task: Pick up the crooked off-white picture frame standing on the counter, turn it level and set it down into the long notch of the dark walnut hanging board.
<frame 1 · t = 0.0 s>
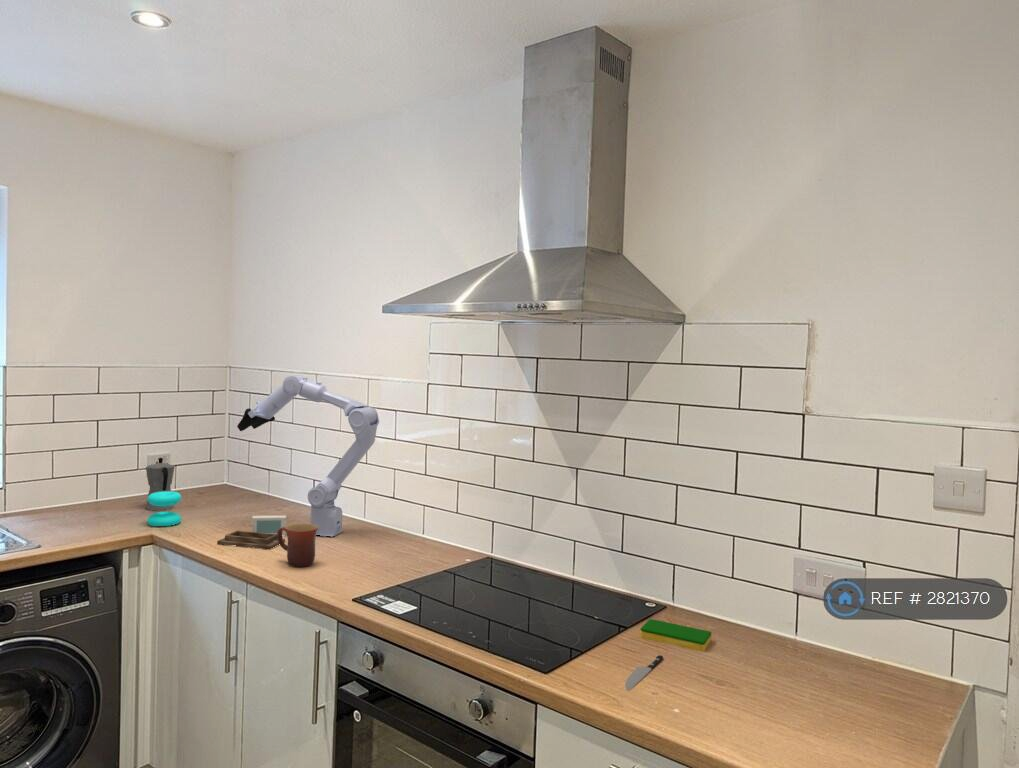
hand: (245, 427, 242), 32 cm above the worktop, tool tilted 50°, fingers open, 7 cm apart
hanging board: (251, 543, 224), on the worktop
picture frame: (269, 535, 233), on the worktop
chef's knife: (638, 675, 144), on the worktop
mug: (296, 564, 205), on the worktop
dish sponge: (675, 641, 162), on the worktop
donuts: (164, 524, 242), on the worktop
coffeepot: (160, 509, 263), on the worktop
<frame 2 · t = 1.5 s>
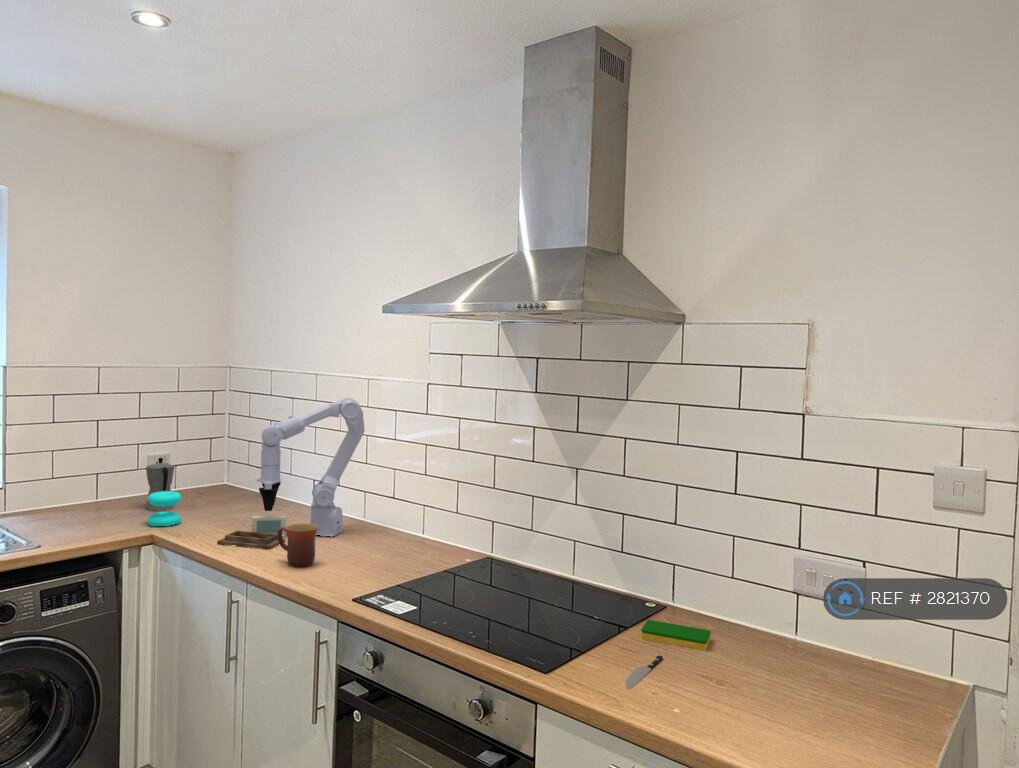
hand: (269, 507, 233), 9 cm above the worktop, tool pointing down, fingers open, 7 cm apart
nothing on the worktop moved.
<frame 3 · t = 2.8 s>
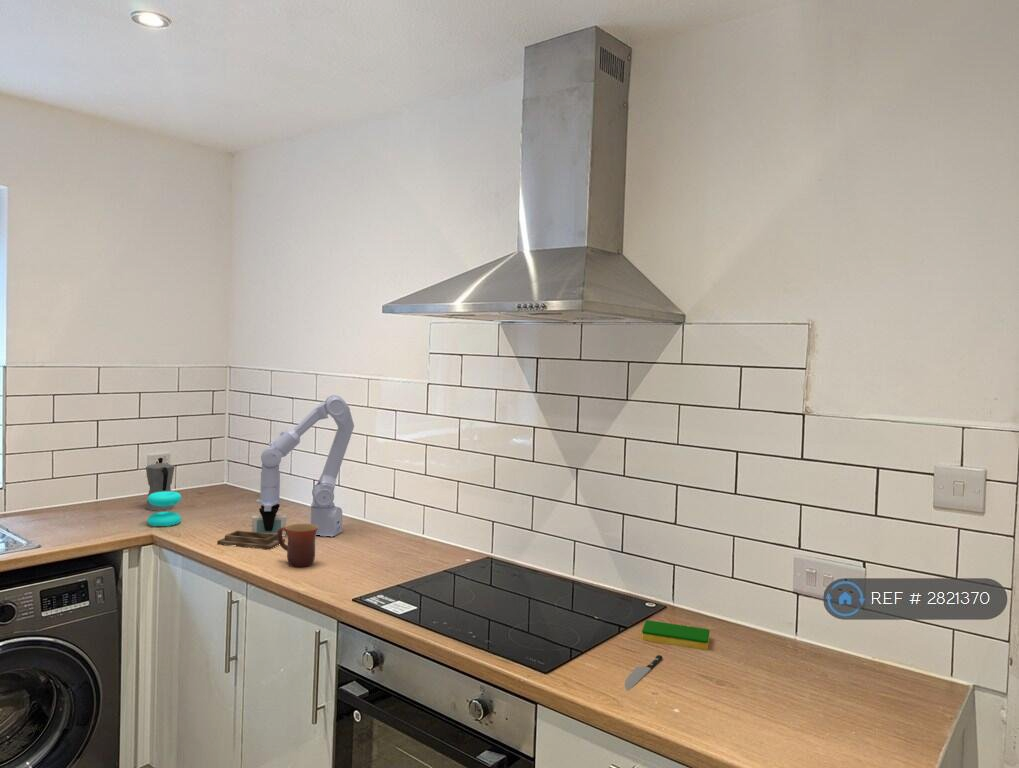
hand: (269, 529, 233), 2 cm above the worktop, tool pointing down, fingers closed on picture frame, 3 cm apart
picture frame: (269, 535, 233), on the worktop, touching gripper
everything else where it was.
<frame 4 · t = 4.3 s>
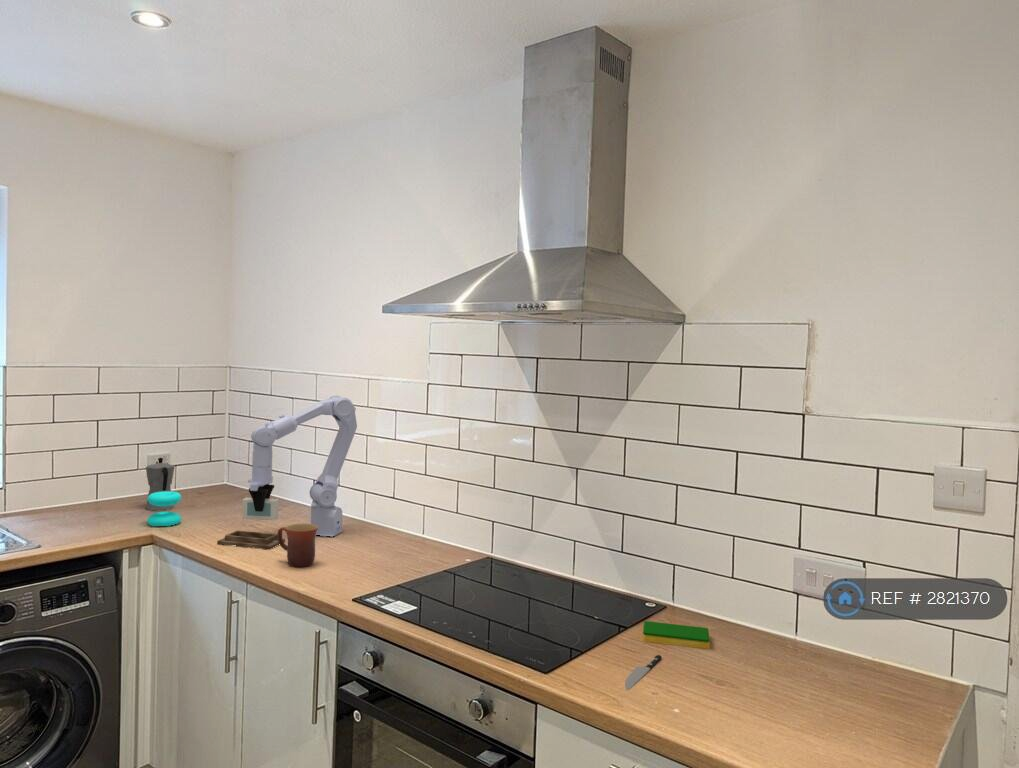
hand: (261, 509, 228), 9 cm above the worktop, tool pointing down, fingers closed on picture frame, 3 cm apart
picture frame: (260, 518, 228), point 6 cm above the worktop, touching gripper
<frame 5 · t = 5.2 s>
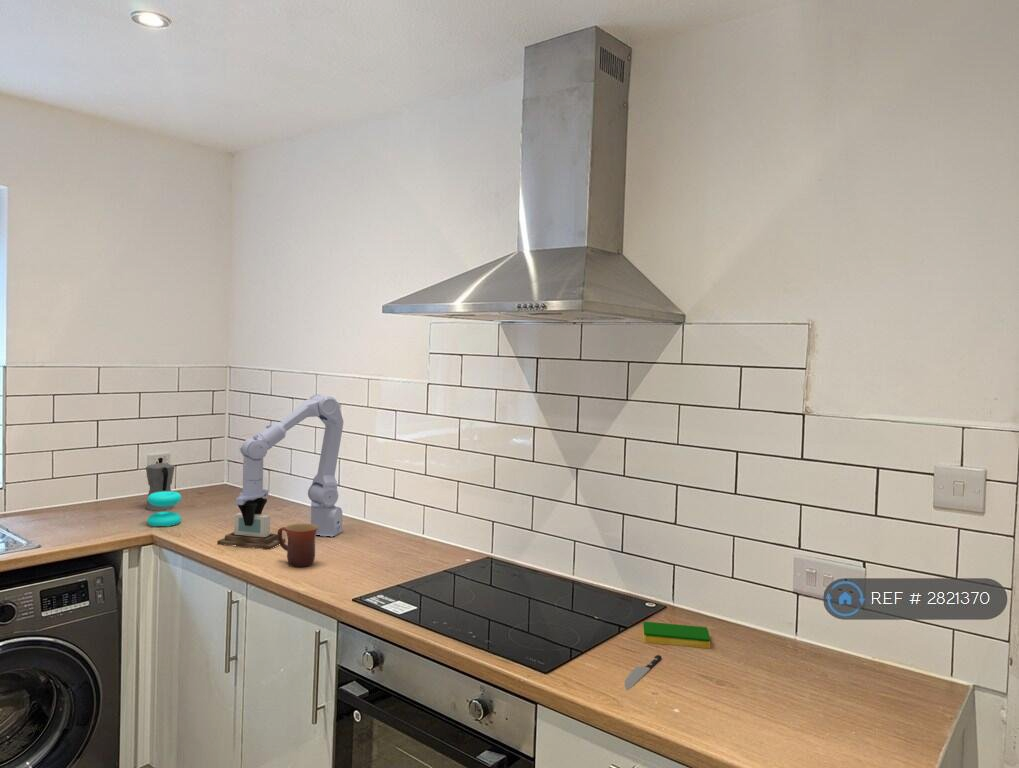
hand: (251, 524, 223), 6 cm above the worktop, tool pointing down, fingers closed on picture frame, 3 cm apart
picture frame: (252, 534, 223), point 3 cm above the worktop, touching gripper
when the fingers open (5 cm above the worktop, at t = 5.7 s): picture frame stays where it is, resting on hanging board.
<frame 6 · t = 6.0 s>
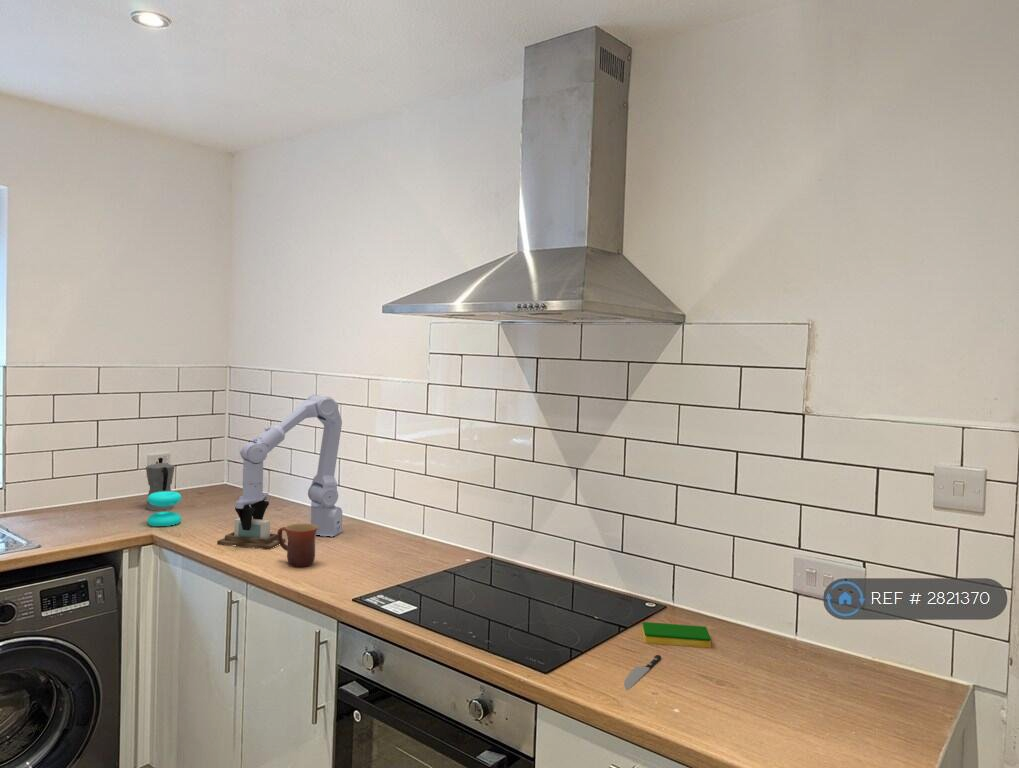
hand: (251, 527, 223), 5 cm above the worktop, tool pointing down, fingers open, 5 cm apart
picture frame: (251, 539, 223), point 1 cm above the worktop, touching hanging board
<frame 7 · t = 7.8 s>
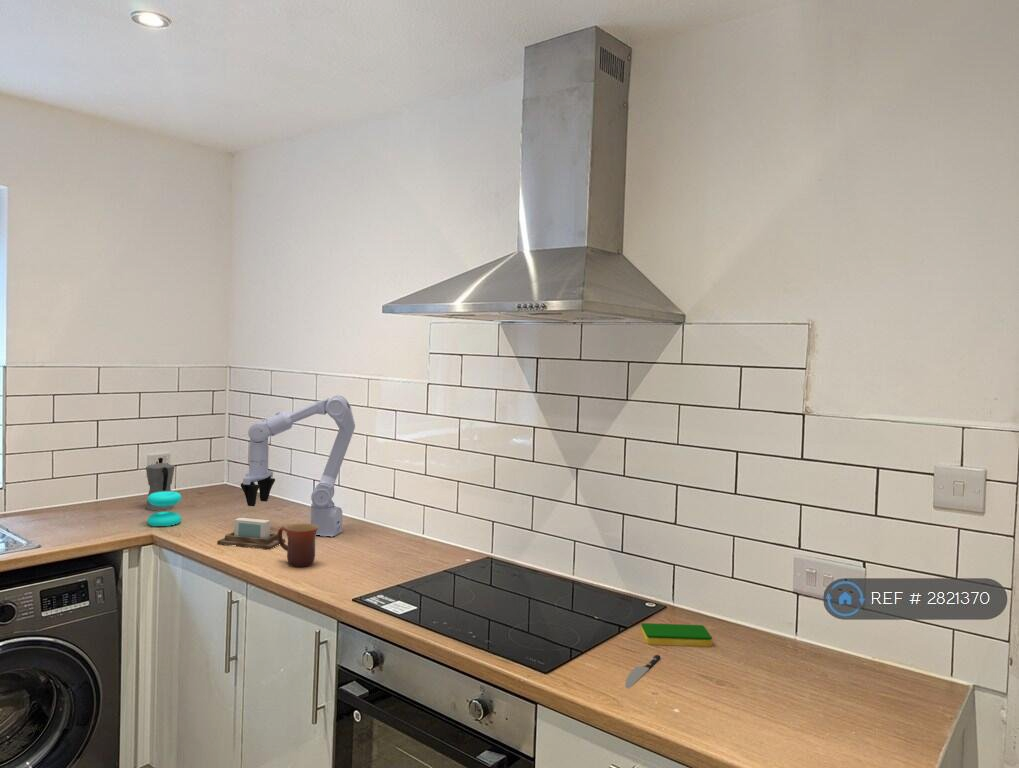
hand: (257, 503, 235), 9 cm above the worktop, tool pointing down, fingers open, 7 cm apart
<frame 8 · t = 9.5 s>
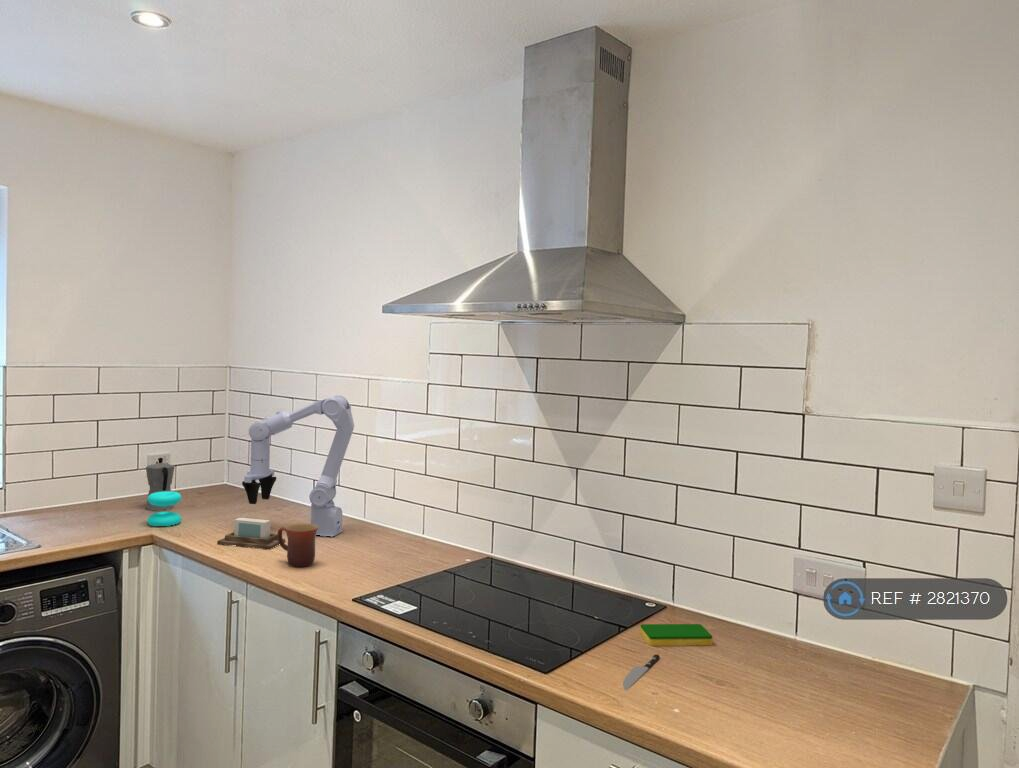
hand: (259, 501, 238), 9 cm above the worktop, tool pointing down, fingers open, 7 cm apart
at the end: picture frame 0.1 cm off-centre on the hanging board, point 1.0 cm above the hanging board's base; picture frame tilted 0°; the gripper is holding nothing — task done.
